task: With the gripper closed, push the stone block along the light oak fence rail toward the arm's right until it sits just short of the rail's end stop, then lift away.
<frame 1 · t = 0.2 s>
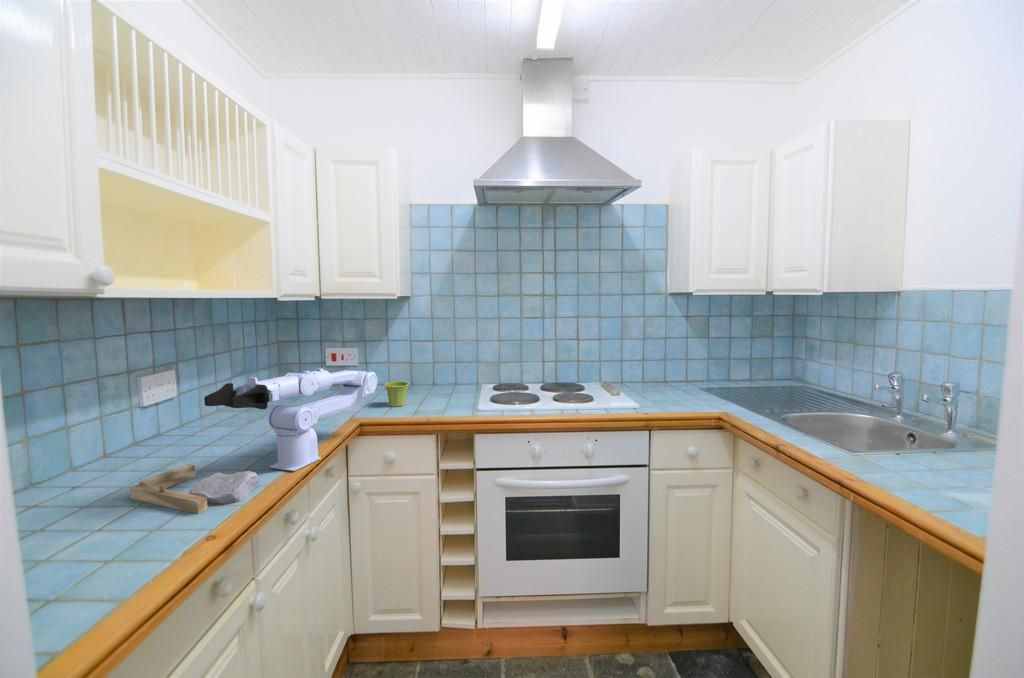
hand: (218, 402, 97), 21 cm above the counter, tool horizontal, fingers open, 7 cm apart
fence: (169, 504, 96), on the counter
stone block: (223, 497, 100), on the counter
plant pot: (397, 405, 179), on the counter
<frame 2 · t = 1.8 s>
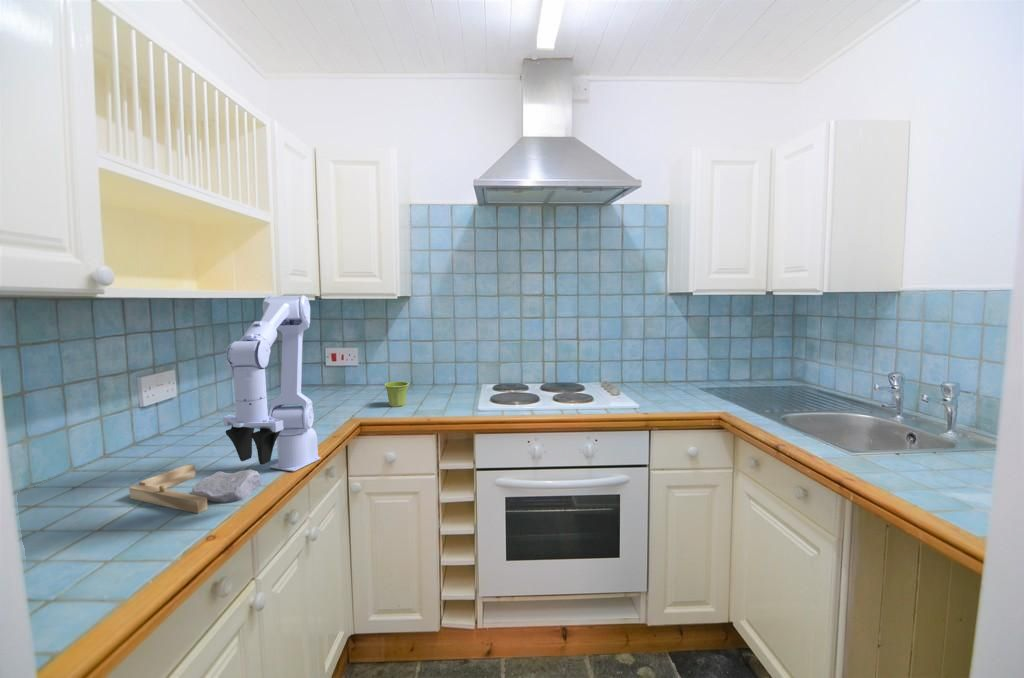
hand: (255, 461, 95), 9 cm above the counter, tool pointing down, fingers open, 5 cm apart
nothing on the counter moved.
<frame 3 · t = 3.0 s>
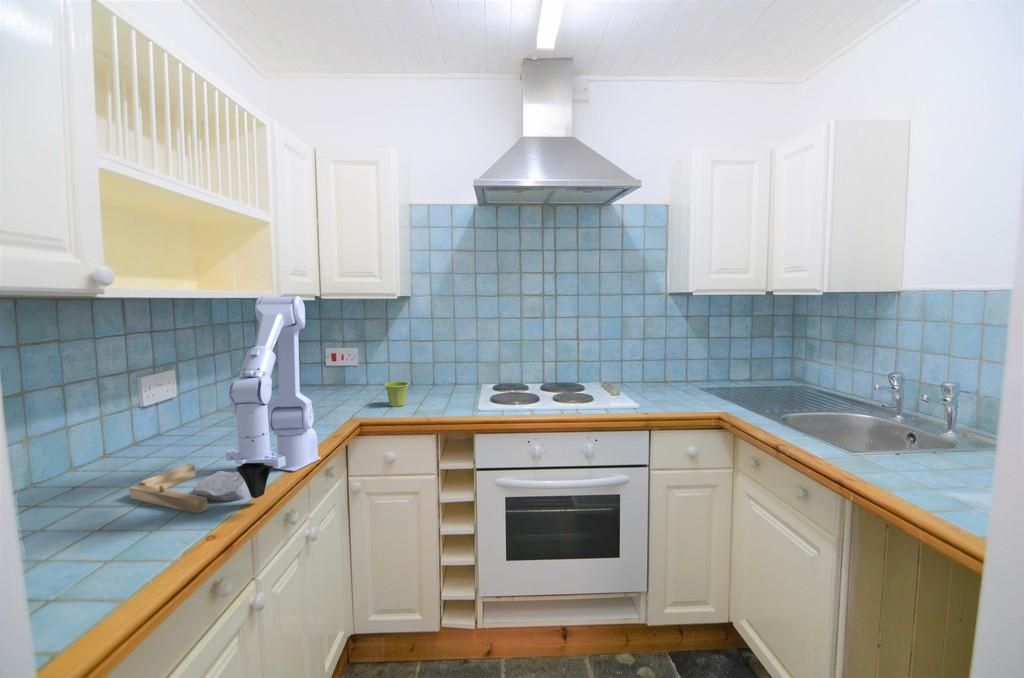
hand: (257, 495, 96), 2 cm above the counter, tool pointing down, fingers closed
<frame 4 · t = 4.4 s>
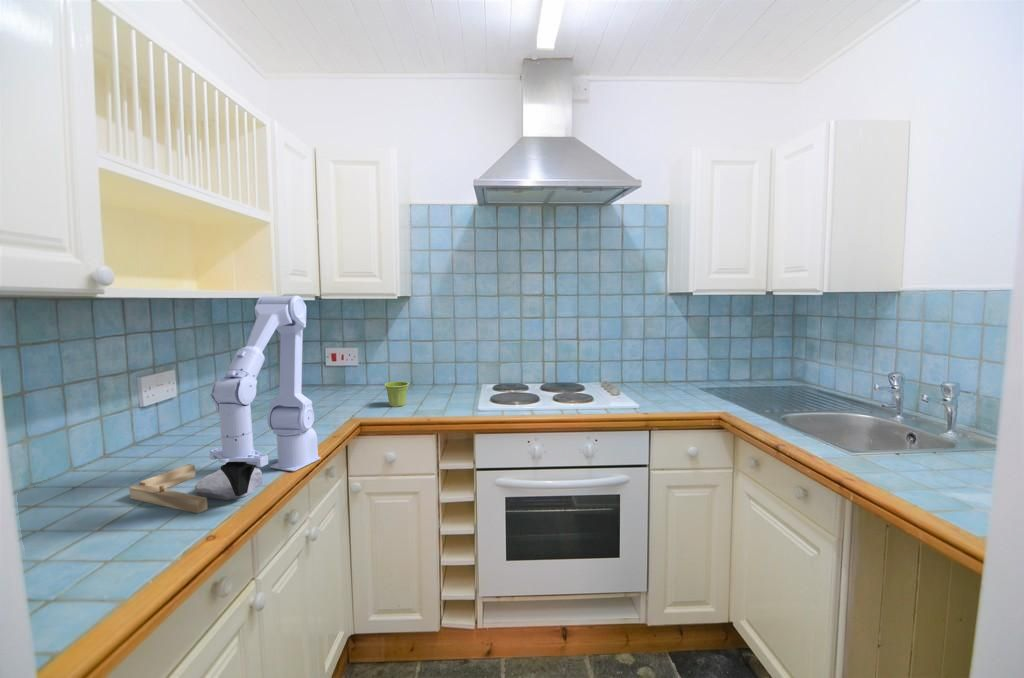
hand: (241, 494, 97), 1 cm above the counter, tool pointing down, fingers closed
stone block: (228, 492, 102), on the counter, touching gripper
everything else where it was.
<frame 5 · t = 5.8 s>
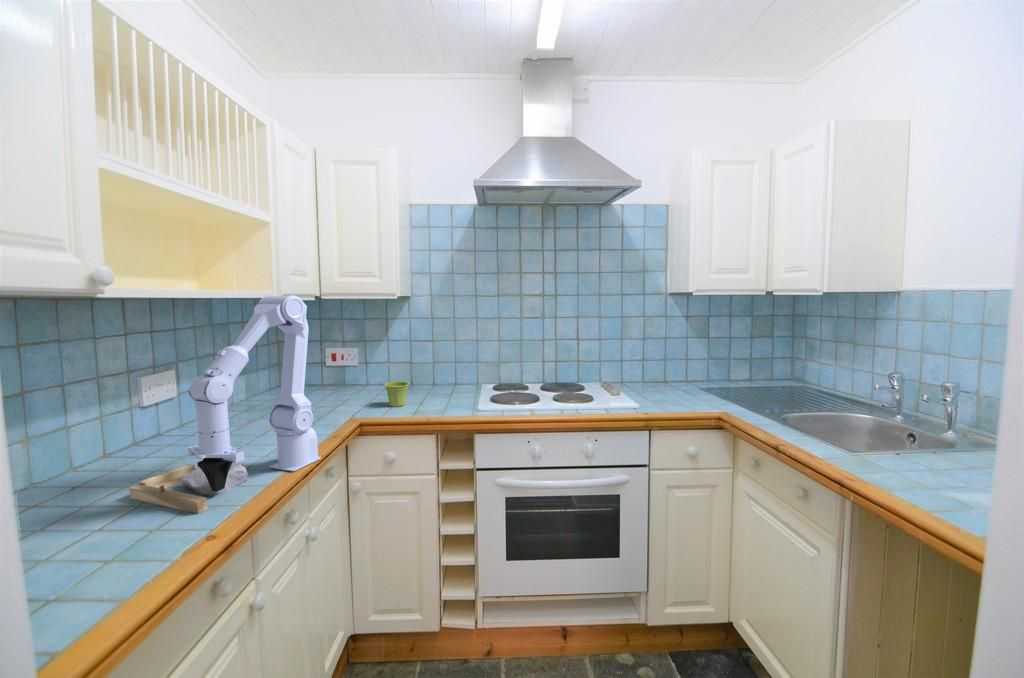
hand: (218, 489, 100), 1 cm above the counter, tool pointing down, fingers closed
stone block: (213, 487, 105), on the counter, touching gripper
everything else where it was.
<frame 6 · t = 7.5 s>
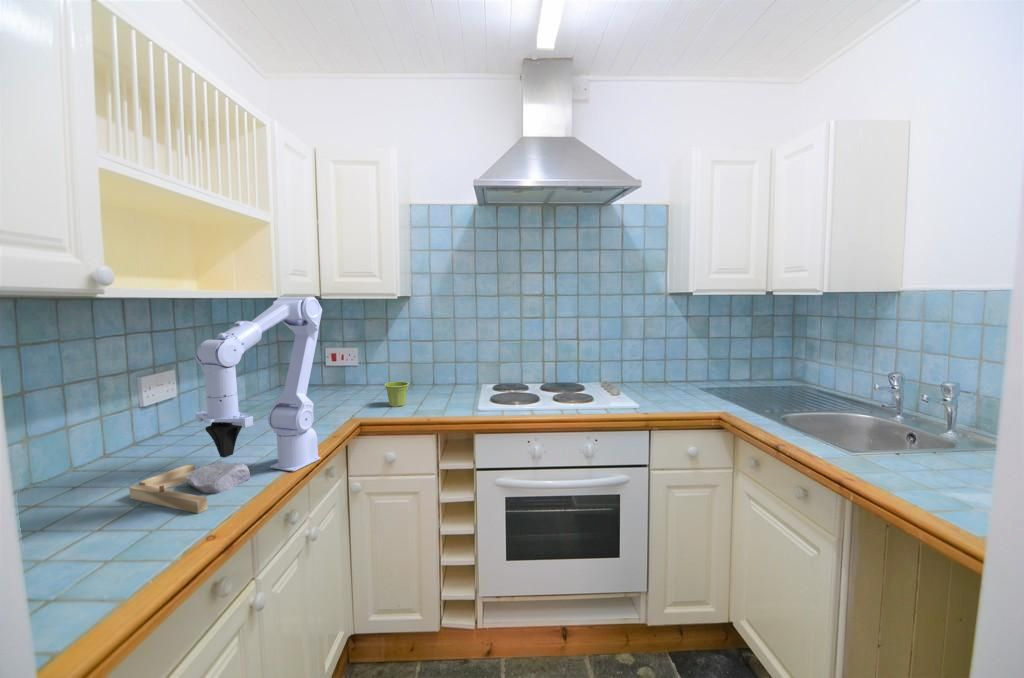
hand: (226, 455, 98), 9 cm above the counter, tool pointing down, fingers closed
stone block: (215, 485, 106), on the counter
everything else where it was.
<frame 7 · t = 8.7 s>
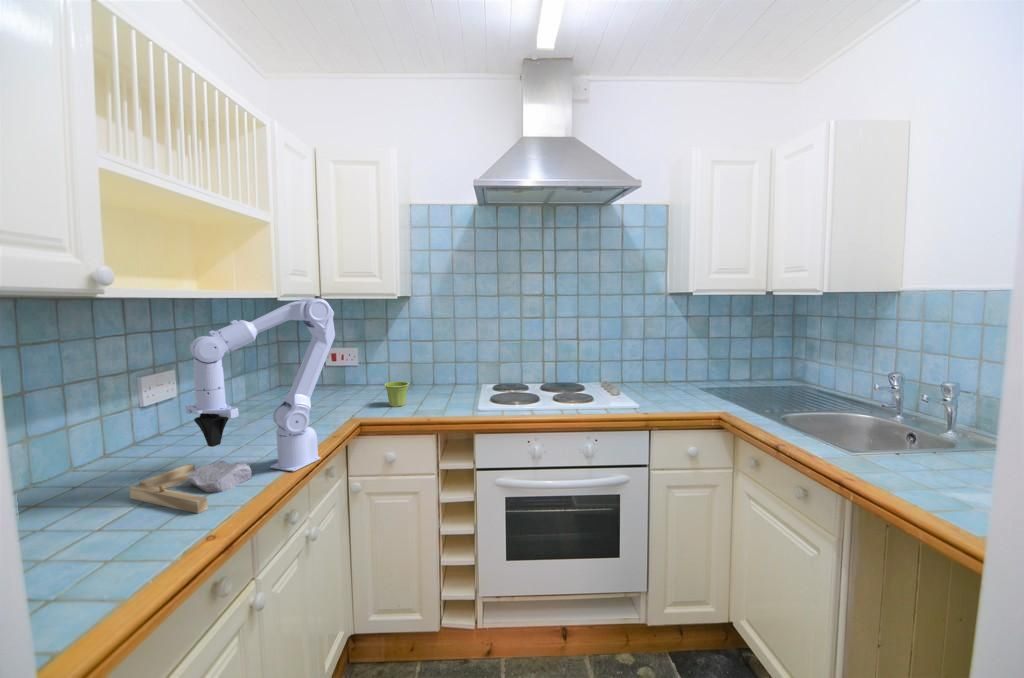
hand: (214, 445, 105), 9 cm above the counter, tool pointing down, fingers closed
nothing on the counter moved.
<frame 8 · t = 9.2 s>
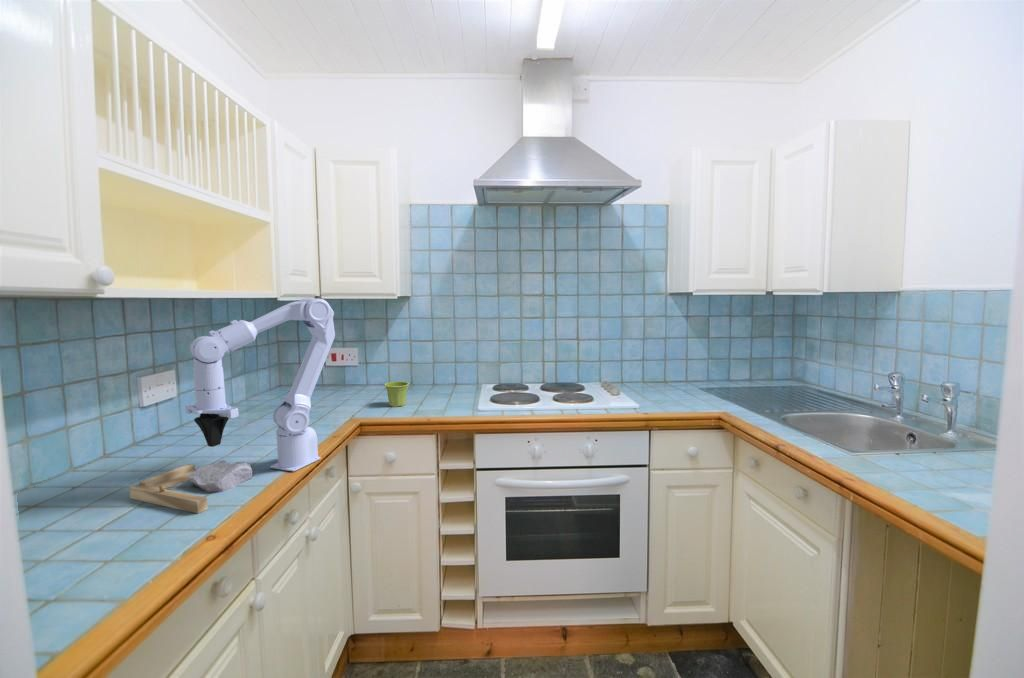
hand: (214, 445, 105), 9 cm above the counter, tool pointing down, fingers closed
nothing on the counter moved.
at the end: stone block inside the target area (4.5 cm from its centre), on the counter; stone block moved 8.8 cm from its start; stone block tilted 0° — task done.
